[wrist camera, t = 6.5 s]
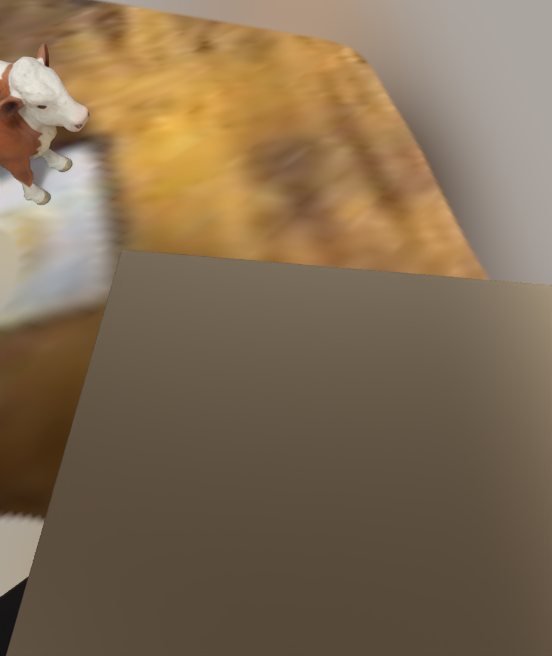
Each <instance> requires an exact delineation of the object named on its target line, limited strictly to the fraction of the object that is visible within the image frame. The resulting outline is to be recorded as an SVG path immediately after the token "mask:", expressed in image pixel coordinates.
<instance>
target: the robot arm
mask: <svg viewBox="0 0 552 656" xmlns="http://www.w3.org/2000/svg"><path fill="white" fill-rule="evenodd" d="M28 577H29V576H28ZM28 577H27V578H26V579H24V580H23V581H22V582H20V583H19V584H18V585H16V586H15V587H14V588H12V589H11V590H9V591H8V592H7V593H5V594H4V595H3V596H1V597H0V656H6V654H7V651H8V647H9V644H10V640H11V637H12V633H13V630H14V626H15V623H16V619H17V616H18V612H19V609H20V605H21V602H22V598H23V595H24V591H25V588H26V584H27V581H28Z"/></svg>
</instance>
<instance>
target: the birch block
mask: <svg viewBox="0 0 552 656" xmlns="http://www.w3.org/2000/svg"><path fill="white" fill-rule="evenodd" d="M6 656H552V285H545V284H532V283H521V282H520V283H519V282H508V281H496V280H484V279H472V278H460V277H448V276H436V275H424V274H412V273H400V272H387V271H375V270H363V269H351V268H339V267H327V266H315V265H303V264H291V263H278V262H266V261H254V260H242V259H230V258H218V257H206V256H194V255H182V254H170V253H157V252H145V251H133V250H122V251H121V255H120V258H119V262H118V265H117V269H116V272H115V276H114V279H113V283H112V286H111V290H110V293H109V297H108V300H107V304H106V307H105V311H104V314H103V318H102V321H101V325H100V328H99V332H98V335H97V339H96V342H95V346H94V349H93V353H92V356H91V360H90V363H89V367H88V370H87V374H86V377H85V381H84V384H83V388H82V391H81V395H80V398H79V402H78V405H77V409H76V412H75V416H74V419H73V423H72V426H71V430H70V434H69V437H68V441H67V444H66V448H65V451H64V455H63V458H62V462H61V465H60V469H59V472H58V476H57V479H56V483H55V486H54V490H53V493H52V497H51V500H50V504H49V507H48V511H47V514H46V518H45V521H44V525H43V528H42V532H41V535H40V539H39V542H38V546H37V549H36V553H35V556H34V560H33V564H32V567H31V570H30V574H29V577H28V581H27V584H26V588H25V591H24V595H23V598H22V602H21V605H20V609H19V612H18V616H17V619H16V623H15V626H14V630H13V633H12V637H11V640H10V644H9V647H8V651H7V654H6Z"/></svg>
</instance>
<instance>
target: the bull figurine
mask: <svg viewBox="0 0 552 656" xmlns="http://www.w3.org/2000/svg"><path fill="white" fill-rule="evenodd" d="M89 117H90V114H89V112H88V110H87V108H86V107H85V106H84V105H81V104H79V103H77V102H76V101H75V100H74V99H73V98H72V97H71V96H70V95H69V94H68V92H67V90H66V88H65V87H64V85H63V83H62V82H61V80H60V78H59V77H58V75H57V74H56V73H55V71H54V70H52V69H51V68H49V54H48V49H47V45H46V44H45V43H42V44H41V46H40V49H39V51H38V54H37V58H36V59H35V58H32V57H22V58H20V59H19V60H18V61H17V62H15V63H14V64H12V63H8V62H4V61H0V165H1V166H3V167H4V168H6V169H7V170H9V171H10V173H11V174H12V175H13V176H14V177H15V178H16V179H17V180H18V181H19V182H21V184H22V186H23V189H24V193H25V194H24V197H25V199H26V200H30V199H31V200H33V201H34V202H35V203H37V204H39V205H43V204H46V203H47V202H48V201H49V200H50V198H51V197H50V194H49V193H48V192H46V191H45V190H43V189H42V188H40V187H38V186H36V185H35V184H34V183H33V179H34V176H33V172H32V171H31V169H30V159H34V158H37V157H39V156H40V155H41V156H42V157H43V158H44V159H45V161H46V163H47V166H48V167H49V168H51V167H53V168H56V169H57V170H59V171H61V172H64V171H67V170H69V169H70V168H71V166H72V161H71V160H70V159H69V158H66V157H63V156H61V155H58V154H57V153H55V152H53V151H52V150H50V149H49V147H50V143H51V140H53V139H54V138H55V135H56V134H57V129H56V126H61V127H62V126H64V127H65V128H66V129H67V130H69V131H71V132H78V131H80V130H81V129H82V128H83V127H84V125H85V124H86V123H87V122H88V120H89Z"/></svg>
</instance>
